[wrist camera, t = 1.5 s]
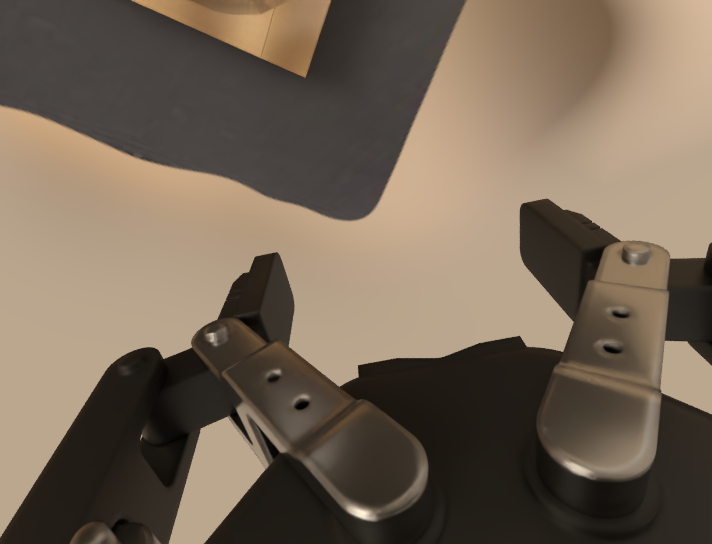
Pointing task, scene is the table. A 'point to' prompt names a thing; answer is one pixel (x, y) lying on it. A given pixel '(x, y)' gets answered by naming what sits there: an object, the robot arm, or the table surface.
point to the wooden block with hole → (255, 26)
